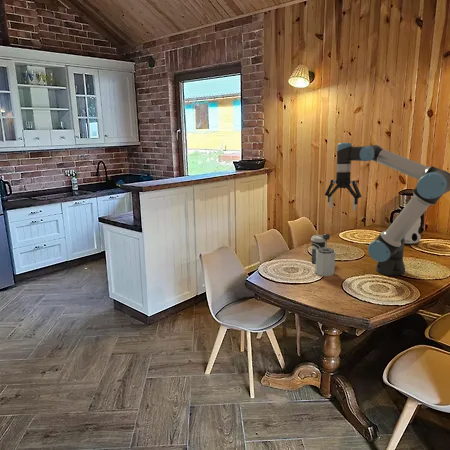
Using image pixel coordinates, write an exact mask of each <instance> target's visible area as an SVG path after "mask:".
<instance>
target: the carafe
mask: <svg viewBox="0 0 450 450" xmlns="http://www.w3.org/2000/svg"><path fill="white" fill-rule="evenodd" d="M315 252H316V261H315ZM325 253H326V254H325ZM335 263H336V250H334V248H331V247H327V251H325V247H322V248H318V249H312V248H311V264H312V265H315V267H314V269H315V271H314V272H315V274H316V273H317V274H318V275H317V274H316V275H317V276H321V275H322V276H321V277H332V276H333V275H335V270H336V269H335V267H336V264H335Z"/></svg>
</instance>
